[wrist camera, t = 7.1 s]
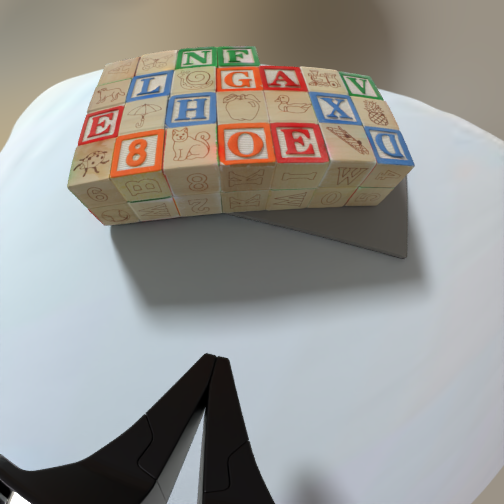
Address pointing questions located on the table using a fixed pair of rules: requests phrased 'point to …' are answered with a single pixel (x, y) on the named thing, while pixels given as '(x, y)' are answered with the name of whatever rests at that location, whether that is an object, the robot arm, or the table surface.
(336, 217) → the mat
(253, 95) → the stack of blocks
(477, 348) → the table surface
